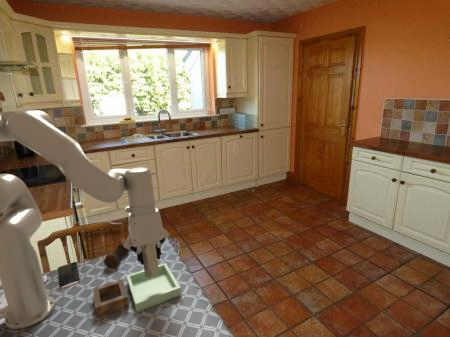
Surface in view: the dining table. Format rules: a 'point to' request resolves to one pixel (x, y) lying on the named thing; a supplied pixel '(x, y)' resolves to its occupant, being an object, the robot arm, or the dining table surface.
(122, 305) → the frame
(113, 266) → the bolt
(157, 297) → the tray
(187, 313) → the dining table surface
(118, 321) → the dining table surface
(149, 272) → the box
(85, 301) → the dining table surface
